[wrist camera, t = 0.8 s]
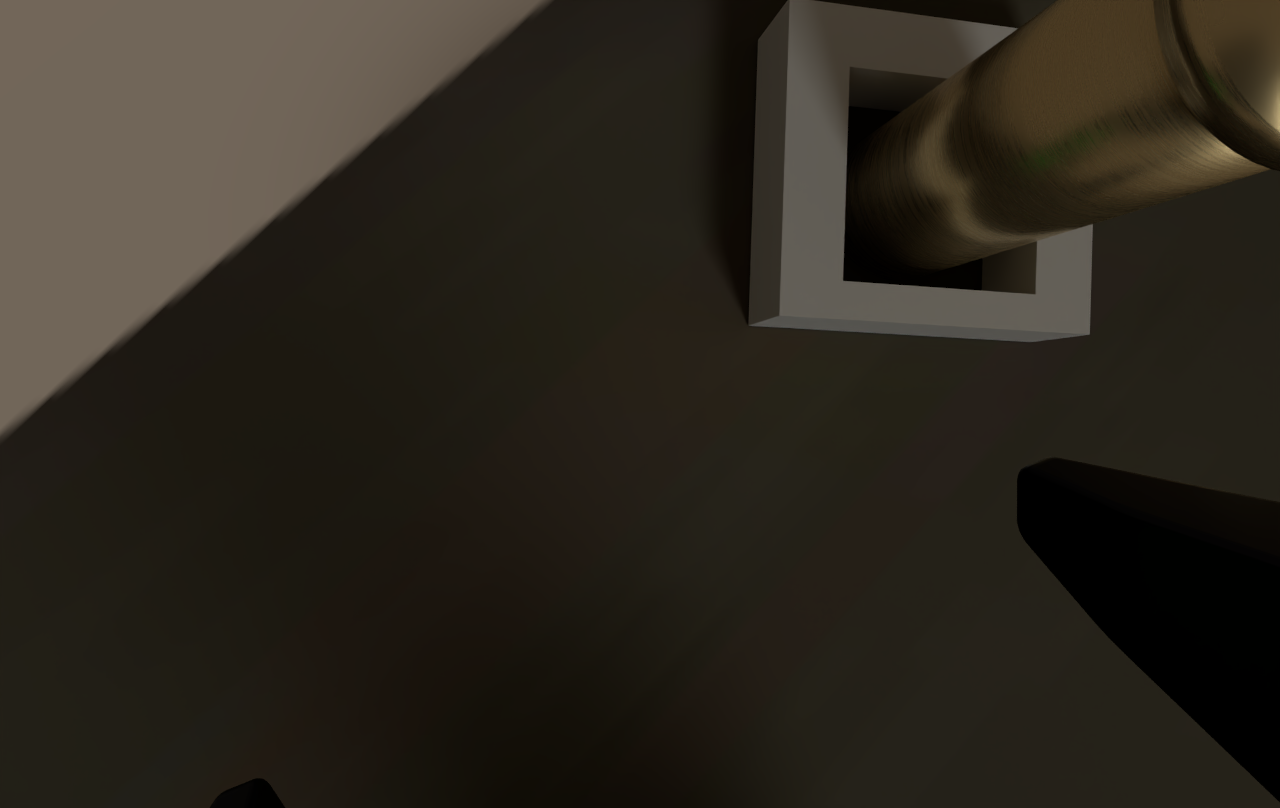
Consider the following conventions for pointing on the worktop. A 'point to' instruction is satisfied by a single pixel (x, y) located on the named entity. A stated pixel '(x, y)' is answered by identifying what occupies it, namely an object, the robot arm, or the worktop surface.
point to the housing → (816, 185)
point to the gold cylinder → (1068, 130)
